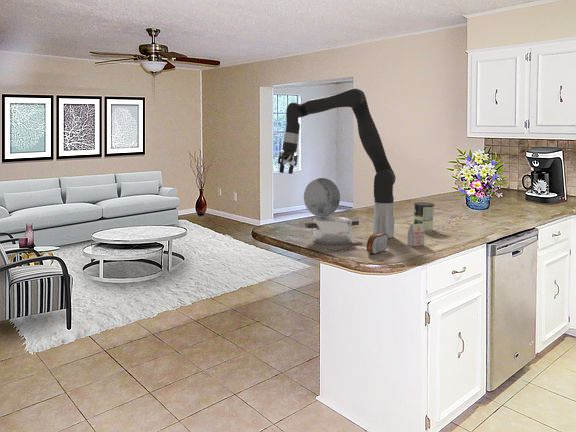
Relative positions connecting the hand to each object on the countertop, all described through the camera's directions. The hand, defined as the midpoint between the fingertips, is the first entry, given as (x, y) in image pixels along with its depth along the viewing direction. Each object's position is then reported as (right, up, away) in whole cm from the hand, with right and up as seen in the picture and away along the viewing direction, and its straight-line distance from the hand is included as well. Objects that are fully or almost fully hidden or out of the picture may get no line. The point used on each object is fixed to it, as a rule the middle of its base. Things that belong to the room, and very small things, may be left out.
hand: (285, 173), depth 266 cm
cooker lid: (+18, -13, -15) cm, 27 cm away
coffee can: (+73, -30, +7) cm, 79 cm away
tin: (+40, -38, -44) cm, 71 cm away
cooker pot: (+22, -34, -22) cm, 46 cm away
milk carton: (+60, -36, -30) cm, 76 cm away
